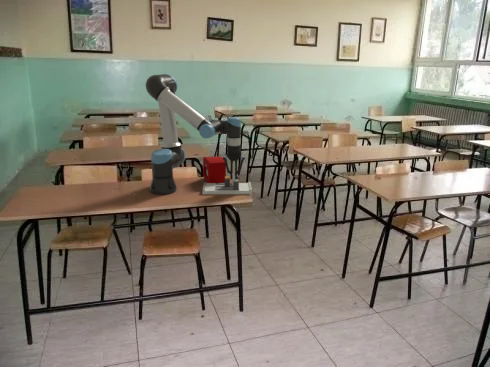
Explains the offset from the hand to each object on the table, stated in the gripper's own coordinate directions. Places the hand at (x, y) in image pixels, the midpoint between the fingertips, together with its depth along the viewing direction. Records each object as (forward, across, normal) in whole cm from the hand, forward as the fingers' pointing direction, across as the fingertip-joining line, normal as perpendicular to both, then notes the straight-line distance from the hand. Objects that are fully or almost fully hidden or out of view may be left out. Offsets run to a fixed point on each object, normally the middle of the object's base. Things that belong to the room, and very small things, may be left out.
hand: (233, 184), depth 234 cm
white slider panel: (+3, -4, 0) cm, 5 cm away
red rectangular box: (+4, -12, +18) cm, 22 cm away
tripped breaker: (+1, -4, 0) cm, 4 cm away
